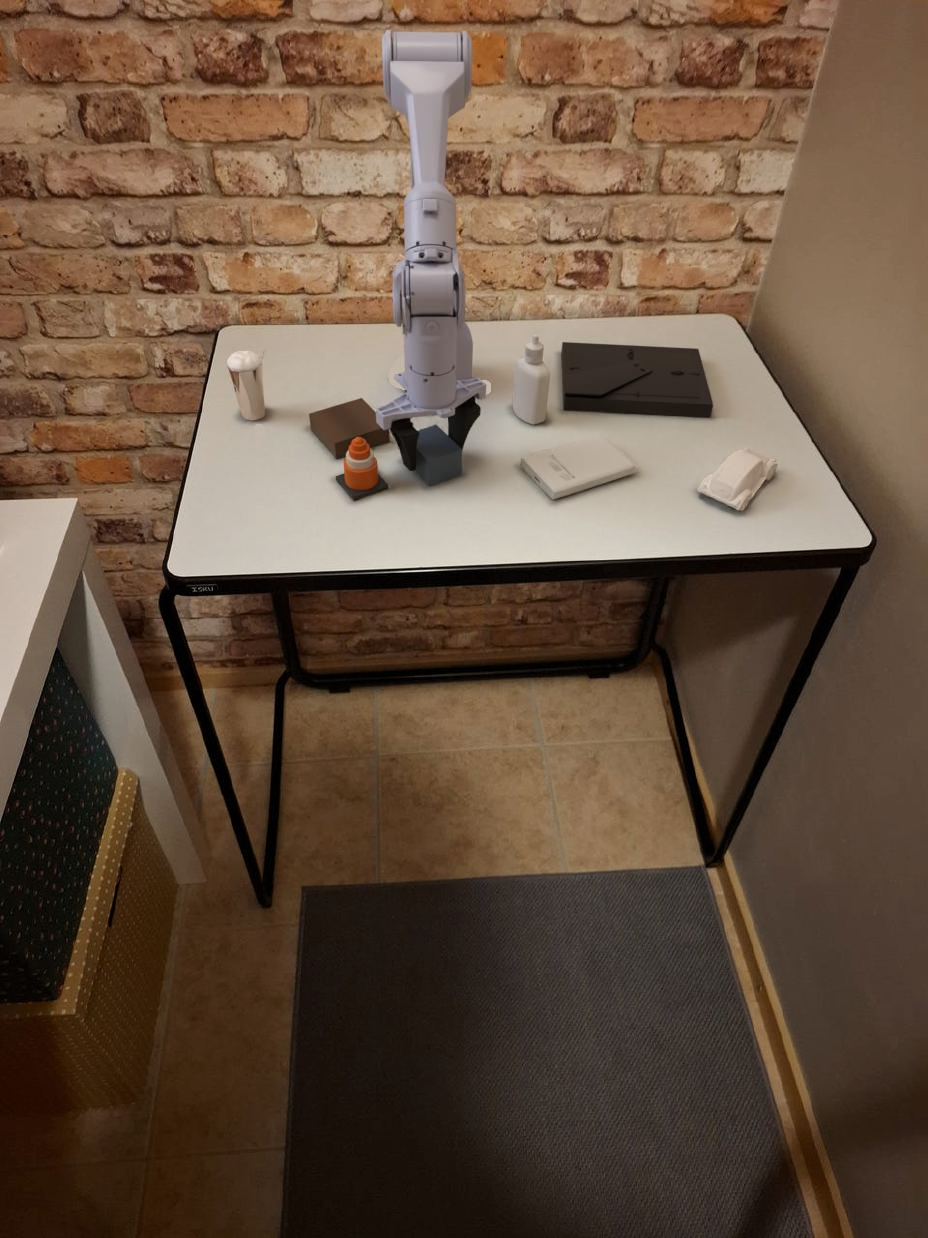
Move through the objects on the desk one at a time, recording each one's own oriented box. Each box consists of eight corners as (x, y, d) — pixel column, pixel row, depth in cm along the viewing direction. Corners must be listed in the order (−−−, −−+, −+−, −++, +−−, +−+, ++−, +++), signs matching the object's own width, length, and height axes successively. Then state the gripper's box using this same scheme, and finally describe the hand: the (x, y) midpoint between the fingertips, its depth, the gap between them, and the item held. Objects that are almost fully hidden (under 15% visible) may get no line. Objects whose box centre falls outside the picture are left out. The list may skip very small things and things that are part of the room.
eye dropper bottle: (541, 403, 123) (549, 325, 114) (546, 425, 119) (554, 346, 110) (511, 404, 122) (516, 325, 114) (515, 426, 119) (521, 346, 110)
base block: (362, 413, 120) (361, 397, 118) (389, 441, 115) (389, 425, 114) (310, 429, 117) (308, 413, 115) (336, 459, 112) (334, 443, 111)
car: (736, 518, 106) (746, 487, 102) (692, 497, 108) (700, 467, 105) (780, 474, 112) (790, 444, 109) (737, 455, 115) (746, 426, 111)
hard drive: (634, 475, 111) (553, 501, 107) (599, 442, 116) (520, 466, 112) (636, 465, 110) (554, 491, 106) (600, 432, 115) (521, 456, 111)
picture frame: (563, 410, 122) (709, 417, 121) (565, 392, 120) (714, 399, 119) (561, 354, 132) (695, 360, 132) (562, 337, 130) (699, 343, 130)
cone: (370, 468, 111) (367, 421, 106) (388, 488, 108) (386, 441, 103) (335, 479, 109) (330, 433, 104) (353, 500, 106) (349, 454, 101)
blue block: (436, 449, 114) (436, 424, 111) (461, 475, 111) (462, 449, 108) (403, 460, 112) (402, 434, 110) (428, 487, 109) (428, 461, 106)
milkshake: (269, 426, 117) (257, 359, 110) (232, 421, 118) (218, 354, 111) (280, 408, 120) (270, 342, 113) (244, 403, 121) (232, 337, 114)
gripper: (393, 395, 96) (398, 492, 105) (501, 362, 101) (496, 458, 111) (364, 367, 100) (371, 463, 109) (470, 337, 105) (467, 431, 115)
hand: (432, 458), depth 110 cm, fingers open, 6 cm apart
